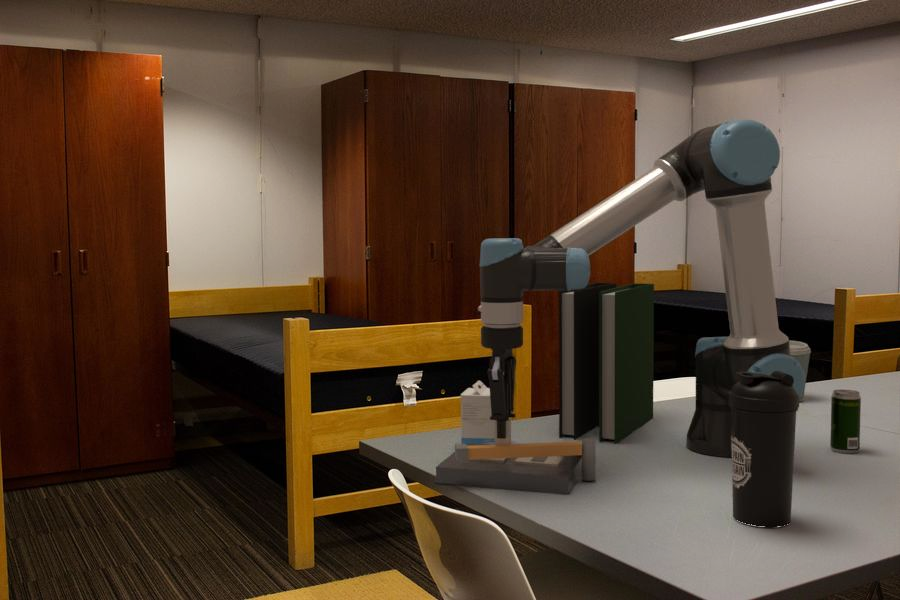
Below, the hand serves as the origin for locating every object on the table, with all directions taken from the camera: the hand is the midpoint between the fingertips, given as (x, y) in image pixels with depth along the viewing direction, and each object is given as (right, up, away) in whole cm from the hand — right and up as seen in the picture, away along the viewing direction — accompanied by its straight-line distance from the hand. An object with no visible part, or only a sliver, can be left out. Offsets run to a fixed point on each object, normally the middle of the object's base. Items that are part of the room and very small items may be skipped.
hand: (503, 454), depth 156 cm
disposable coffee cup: (+78, +2, +67) cm, 103 cm away
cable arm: (+4, -5, -1) cm, 6 cm away
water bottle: (+39, -6, -22) cm, 45 cm away
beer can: (+70, -3, +17) cm, 72 cm away
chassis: (+2, -4, +4) cm, 6 cm away
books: (+26, -1, +40) cm, 48 cm away
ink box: (-2, -3, +26) cm, 26 cm away
